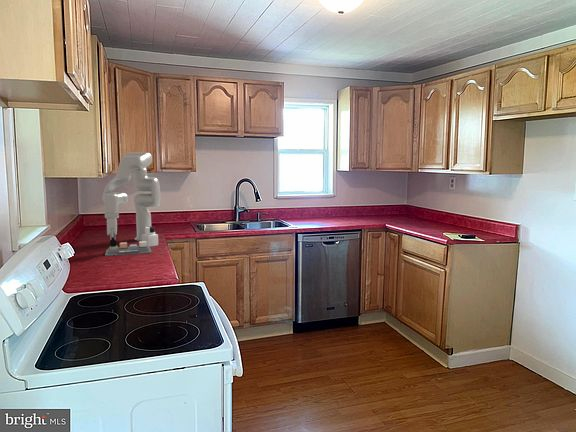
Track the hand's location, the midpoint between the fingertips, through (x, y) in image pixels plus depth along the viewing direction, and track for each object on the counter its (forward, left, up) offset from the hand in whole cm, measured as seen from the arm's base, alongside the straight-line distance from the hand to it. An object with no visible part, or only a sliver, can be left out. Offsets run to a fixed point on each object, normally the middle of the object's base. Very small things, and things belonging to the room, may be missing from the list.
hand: (113, 246), depth 243 cm
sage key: (0, 0, -3) cm, 3 cm away
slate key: (-7, +8, -2) cm, 11 cm away
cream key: (-11, +12, -1) cm, 16 cm away
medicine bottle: (-25, +6, -4) cm, 26 cm away
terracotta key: (-4, +4, -1) cm, 6 cm away
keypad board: (-5, +6, -4) cm, 9 cm away
